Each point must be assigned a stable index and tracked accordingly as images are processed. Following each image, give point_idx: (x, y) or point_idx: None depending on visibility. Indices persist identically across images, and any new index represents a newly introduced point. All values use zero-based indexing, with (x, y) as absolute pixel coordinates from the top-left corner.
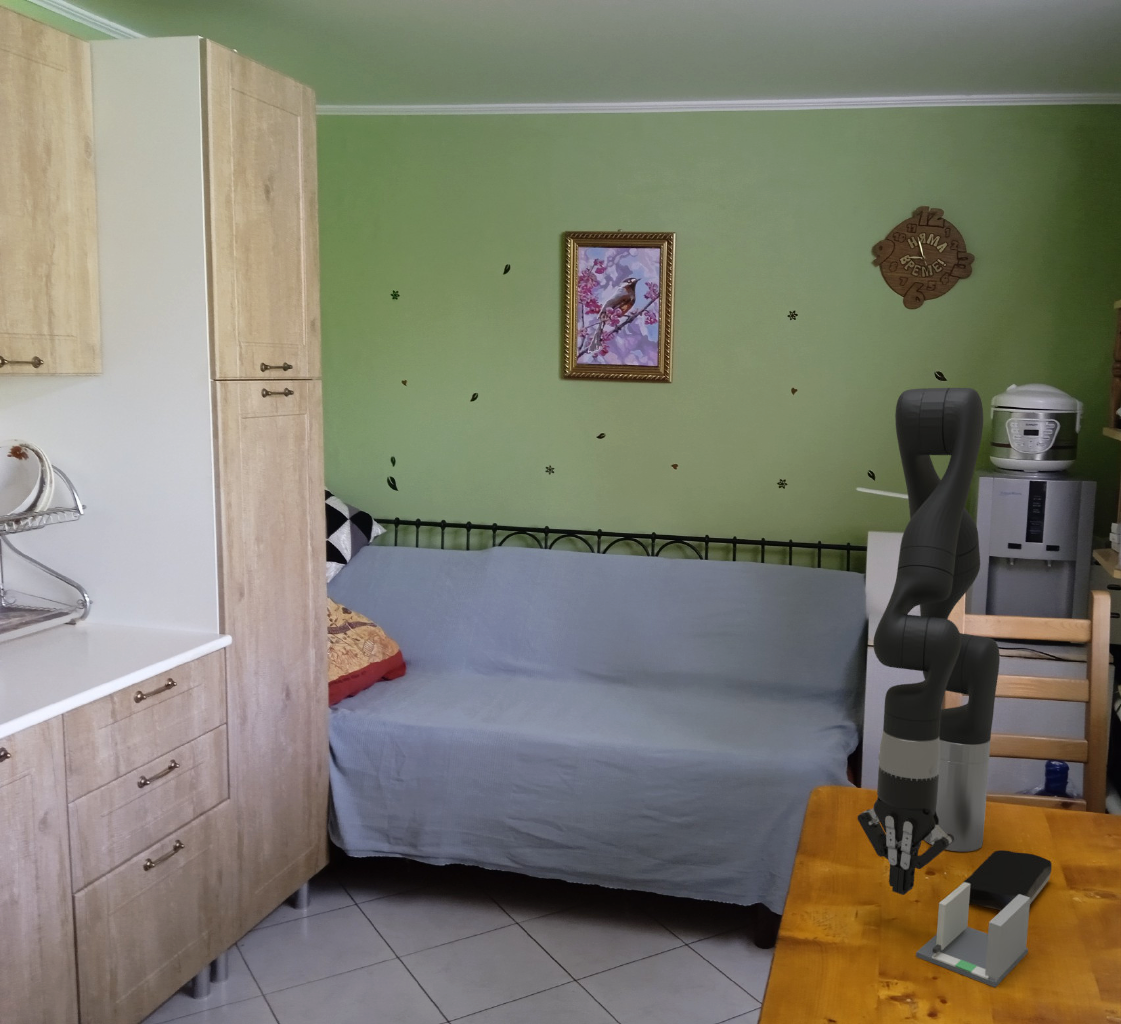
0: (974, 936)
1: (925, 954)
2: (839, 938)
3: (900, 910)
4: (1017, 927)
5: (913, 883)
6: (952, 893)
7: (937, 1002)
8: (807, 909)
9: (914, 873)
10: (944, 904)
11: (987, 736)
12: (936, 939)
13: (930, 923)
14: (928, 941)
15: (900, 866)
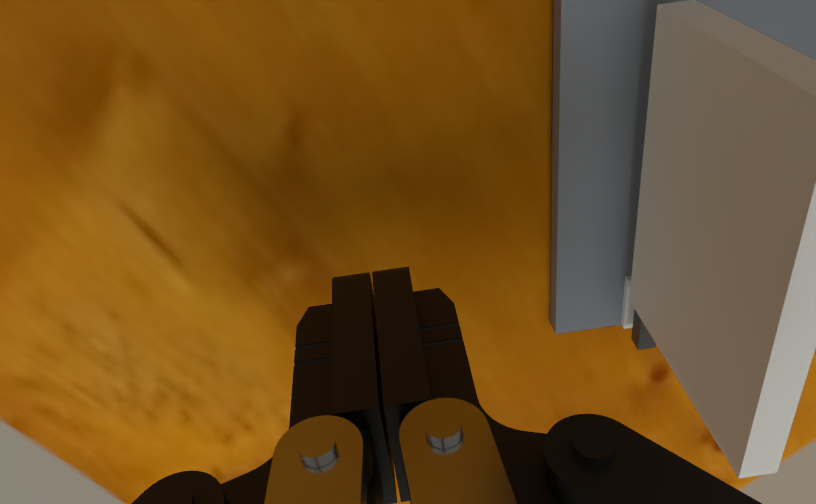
0: (727, 1)
1: (590, 320)
2: (273, 424)
3: (255, 18)
4: None
5: (455, 316)
6: (782, 338)
7: (711, 459)
8: (9, 367)
9: (468, 364)
10: (770, 470)
11: None
12: (578, 189)
13: (456, 15)
14: (556, 230)
15: (392, 477)
